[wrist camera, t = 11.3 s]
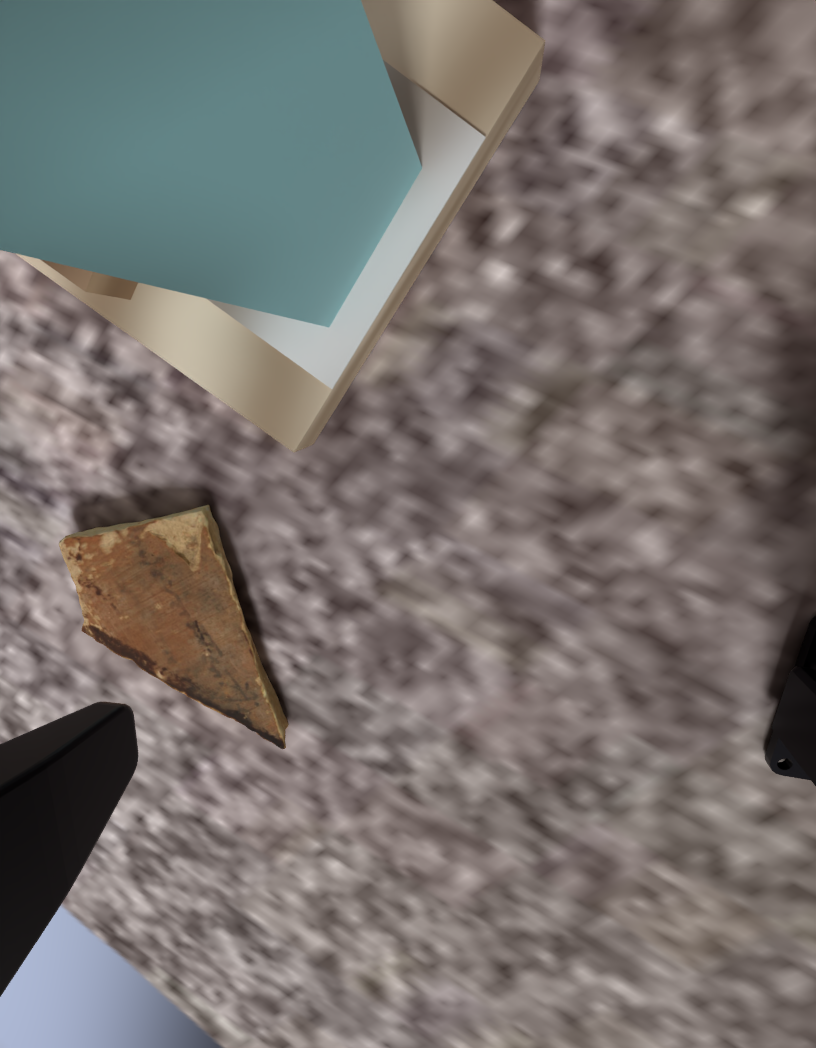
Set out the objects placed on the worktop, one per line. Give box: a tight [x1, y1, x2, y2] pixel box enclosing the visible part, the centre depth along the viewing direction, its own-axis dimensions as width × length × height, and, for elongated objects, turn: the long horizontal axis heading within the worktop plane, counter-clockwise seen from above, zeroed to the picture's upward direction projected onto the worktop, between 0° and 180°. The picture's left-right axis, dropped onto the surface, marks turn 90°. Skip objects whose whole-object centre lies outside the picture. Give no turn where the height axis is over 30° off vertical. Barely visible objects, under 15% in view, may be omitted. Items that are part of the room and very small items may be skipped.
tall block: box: [0, 0, 422, 327], centre depth 9 cm, size 5×5×13 cm
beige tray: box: [15, 0, 545, 452], centre depth 15 cm, size 22×13×4 cm, turn 56°
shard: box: [59, 505, 288, 749], centre depth 23 cm, size 11×8×2 cm
